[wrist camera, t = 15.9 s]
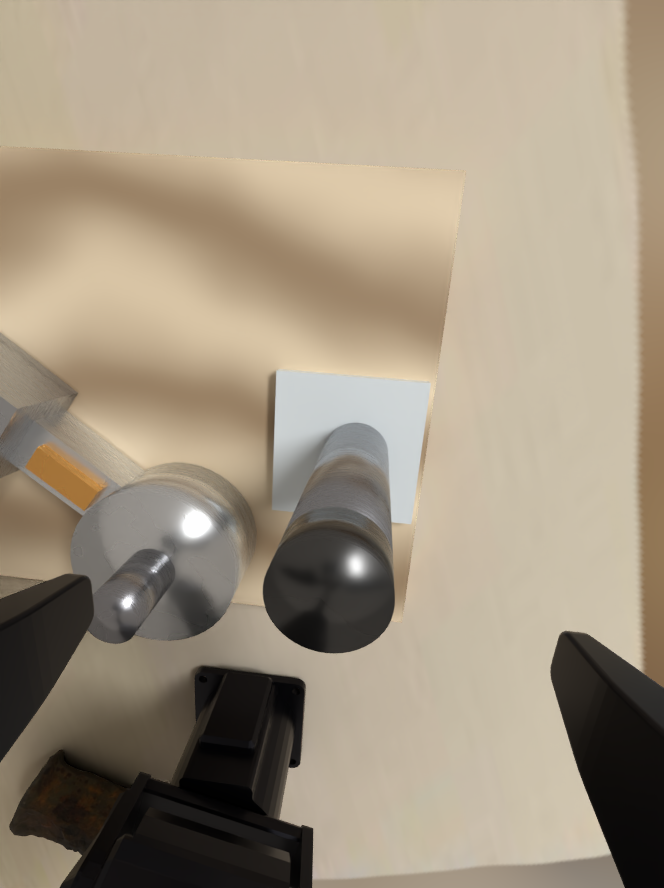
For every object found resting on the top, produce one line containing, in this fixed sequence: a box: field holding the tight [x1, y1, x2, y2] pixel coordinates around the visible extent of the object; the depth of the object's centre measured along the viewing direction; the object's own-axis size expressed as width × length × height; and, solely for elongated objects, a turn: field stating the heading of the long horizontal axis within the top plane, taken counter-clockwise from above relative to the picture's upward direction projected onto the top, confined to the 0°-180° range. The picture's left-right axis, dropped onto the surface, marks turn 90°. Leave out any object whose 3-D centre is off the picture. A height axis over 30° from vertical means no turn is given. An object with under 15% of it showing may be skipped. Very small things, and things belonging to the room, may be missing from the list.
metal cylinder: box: [263, 423, 395, 653], centre depth 14 cm, size 3×3×10 cm
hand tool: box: [10, 750, 127, 855], centre depth 27 cm, size 19×4×5 cm, turn 65°
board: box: [0, 146, 466, 623], centre depth 20 cm, size 20×22×2 cm
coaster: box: [272, 369, 431, 524], centre depth 19 cm, size 6×6×1 cm
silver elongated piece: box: [0, 333, 257, 644], centre depth 17 cm, size 16×7×6 cm, turn 50°
